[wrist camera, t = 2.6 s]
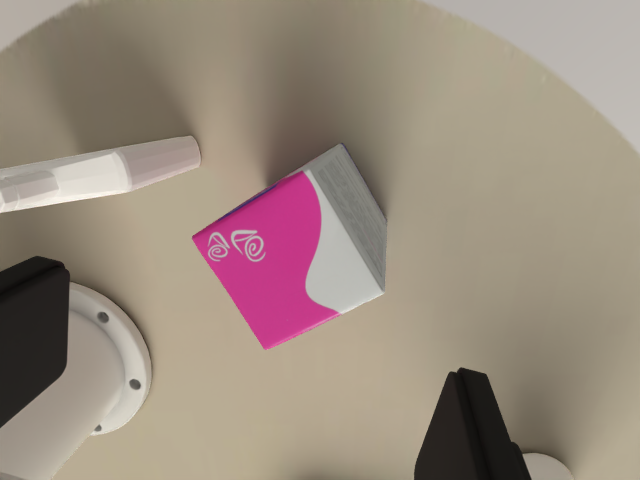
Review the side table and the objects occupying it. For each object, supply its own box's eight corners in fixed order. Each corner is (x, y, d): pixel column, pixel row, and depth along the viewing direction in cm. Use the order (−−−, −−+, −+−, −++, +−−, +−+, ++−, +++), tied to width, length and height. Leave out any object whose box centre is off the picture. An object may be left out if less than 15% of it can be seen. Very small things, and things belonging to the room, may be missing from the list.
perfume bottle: (196, 133, 28) (67, 156, 16) (204, 165, 28) (84, 209, 17) (81, 154, 29) (-112, 188, 18) (90, 184, 30) (-90, 237, 18)
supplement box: (341, 137, 27) (313, 163, 16) (389, 222, 28) (393, 300, 17) (261, 185, 28) (185, 239, 17) (309, 264, 29) (267, 360, 18)
